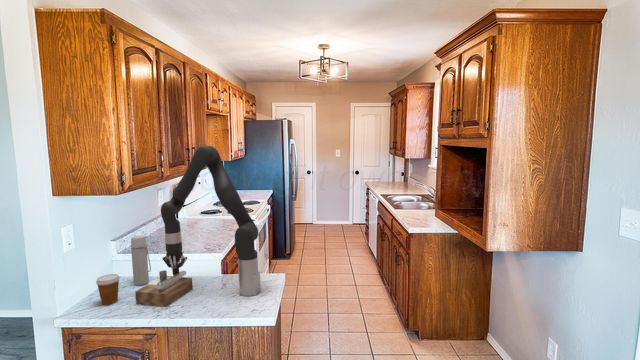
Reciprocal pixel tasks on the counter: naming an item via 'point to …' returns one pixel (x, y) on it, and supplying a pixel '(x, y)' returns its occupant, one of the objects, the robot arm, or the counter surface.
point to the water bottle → (140, 260)
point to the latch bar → (170, 280)
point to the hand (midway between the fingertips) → (176, 275)
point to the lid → (161, 280)
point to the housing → (164, 293)
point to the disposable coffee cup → (108, 288)
